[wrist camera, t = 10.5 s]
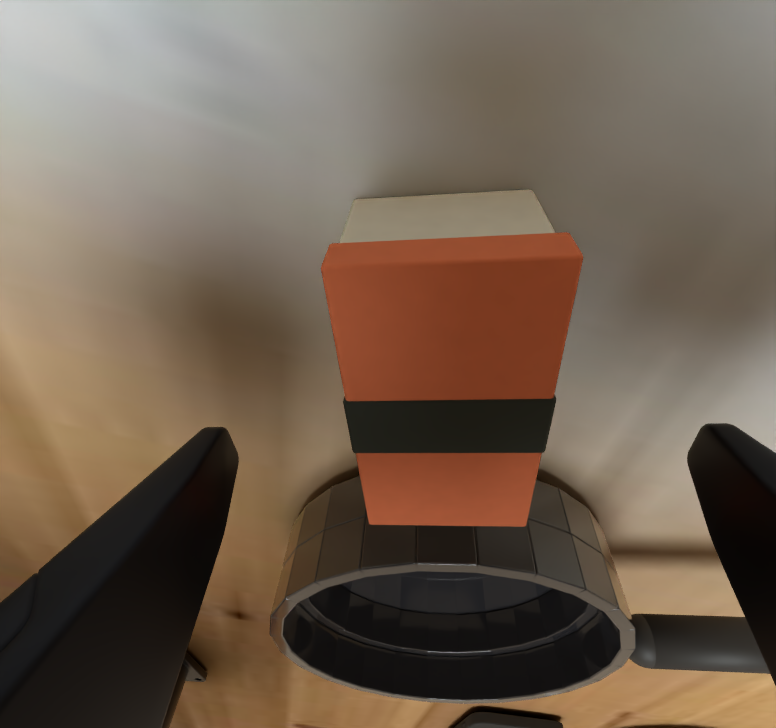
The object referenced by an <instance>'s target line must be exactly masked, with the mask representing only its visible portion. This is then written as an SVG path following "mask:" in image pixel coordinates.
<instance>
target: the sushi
mask: <svg viewBox="0 0 776 728" xmlns="http://www.w3.org/2000/svg"><path fill="white" fill-rule="evenodd" d="M582 262H583V255H582V253H581V251H580V250H579V248H578V246H577V245H576V243H575V241H574V240H573V238H572V236H571V235H570V233H567V232H564V233H556V232H555V230H554V229H553V227H552V225H551V223H550V221H549V219H548V218H547V216H546V214H545V212H544V210H543V209H542V207H541V205H540V203H539V201H538V199H537V198H536V196H535V194H534V192H533V191H532V190H530V189H529V190H511V191H493V192H475V193H458V194H440V195H422V196H404V197H387V198H369V199H356V200H354V201H353V203H352V206H351V209H350V212H349V215H348V218H347V221H346V223H345V226H344V229H343V232H342V235H341V238H340V241H339V243H332V244H330V245H329V247H328V250H327V253H326V255H325V258H324V261H323V263H322V266H321V272H322V277H323V282H324V288H325V293H326V298H327V304H328V309H329V314H330V319H331V325H332V330H333V335H334V341H335V346H336V351H337V357H338V362H339V367H340V373H341V378H342V383H343V388H344V394H345V396H344V401H343V403H344V409H345V414H346V419H347V424H348V429H349V434H350V440H351V445H352V450H353V452H354V453H356V458H357V463H358V468H359V473H360V479H361V484H362V489H363V495H364V500H365V505H366V511H367V516H368V521H369V524H371V525H436V526H511V527H524V526H526V524H527V519H528V515H529V510H530V505H531V500H532V496H533V491H534V486H535V482H536V477H537V472H538V468H539V463H540V458H541V454H542V453H543V452H544V451H545V448H546V444H547V439H548V435H549V430H550V426H551V421H552V417H553V412H554V407H555V403H556V397H555V394H554V393H555V388H556V383H557V379H558V374H559V369H560V365H561V360H562V355H563V351H564V346H565V341H566V336H567V332H568V327H569V322H570V318H571V313H572V308H573V304H574V299H575V294H576V290H577V285H578V280H579V276H580V271H581V266H582Z"/></svg>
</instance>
